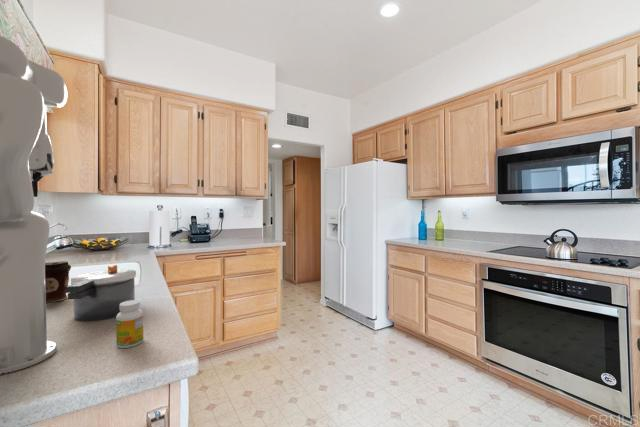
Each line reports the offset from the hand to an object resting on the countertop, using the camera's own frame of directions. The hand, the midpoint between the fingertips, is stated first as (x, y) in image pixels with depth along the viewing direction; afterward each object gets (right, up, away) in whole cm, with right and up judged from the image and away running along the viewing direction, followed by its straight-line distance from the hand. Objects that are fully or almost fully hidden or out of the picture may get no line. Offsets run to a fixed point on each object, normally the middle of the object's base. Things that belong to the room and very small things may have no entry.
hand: (29, 196), depth 79 cm
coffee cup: (-13, -35, +22) cm, 43 cm away
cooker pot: (+13, -35, +9) cm, 38 cm away
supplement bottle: (+34, -36, -10) cm, 50 cm away
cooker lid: (+13, -25, +8) cm, 29 cm away
